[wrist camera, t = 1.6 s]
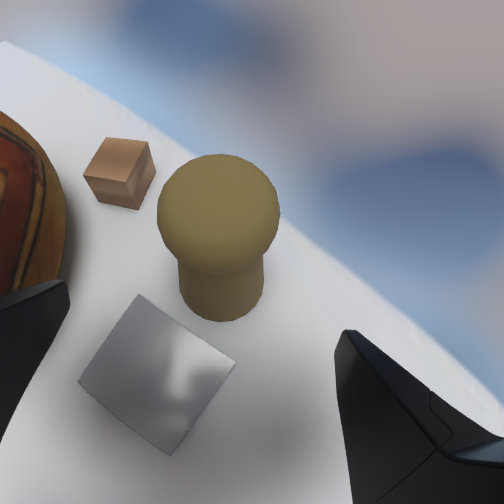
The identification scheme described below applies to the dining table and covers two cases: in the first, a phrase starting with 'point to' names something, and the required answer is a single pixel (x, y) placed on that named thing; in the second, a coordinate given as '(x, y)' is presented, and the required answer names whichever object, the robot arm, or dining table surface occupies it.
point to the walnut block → (121, 172)
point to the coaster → (155, 374)
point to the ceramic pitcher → (28, 211)
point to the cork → (219, 232)
